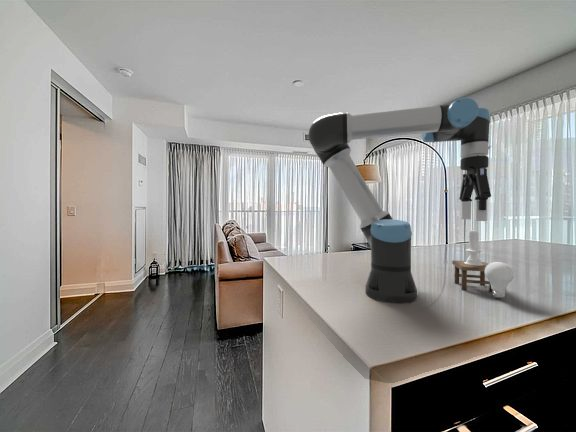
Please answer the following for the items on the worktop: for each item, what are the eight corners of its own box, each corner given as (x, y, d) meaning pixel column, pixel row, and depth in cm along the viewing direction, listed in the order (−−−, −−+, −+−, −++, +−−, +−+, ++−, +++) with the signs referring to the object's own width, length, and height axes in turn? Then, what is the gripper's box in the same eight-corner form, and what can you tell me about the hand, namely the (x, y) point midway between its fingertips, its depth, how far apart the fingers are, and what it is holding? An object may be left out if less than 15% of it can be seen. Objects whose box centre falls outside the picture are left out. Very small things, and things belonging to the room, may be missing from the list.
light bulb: (508, 296, 75) (508, 260, 75) (517, 304, 69) (518, 265, 69) (481, 293, 78) (481, 259, 78) (488, 300, 72) (488, 263, 72)
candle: (462, 262, 87) (462, 228, 87) (480, 263, 85) (480, 228, 85) (466, 265, 82) (466, 229, 82) (486, 266, 80) (486, 229, 80)
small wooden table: (461, 290, 81) (461, 266, 81) (452, 282, 90) (452, 260, 90) (498, 293, 78) (498, 268, 77) (485, 284, 87) (485, 262, 87)
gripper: (506, 147, 70) (504, 222, 71) (473, 163, 94) (472, 218, 94) (474, 149, 73) (473, 221, 73) (450, 164, 96) (449, 218, 97)
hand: (472, 220), depth 84 cm, fingers open, 13 cm apart
